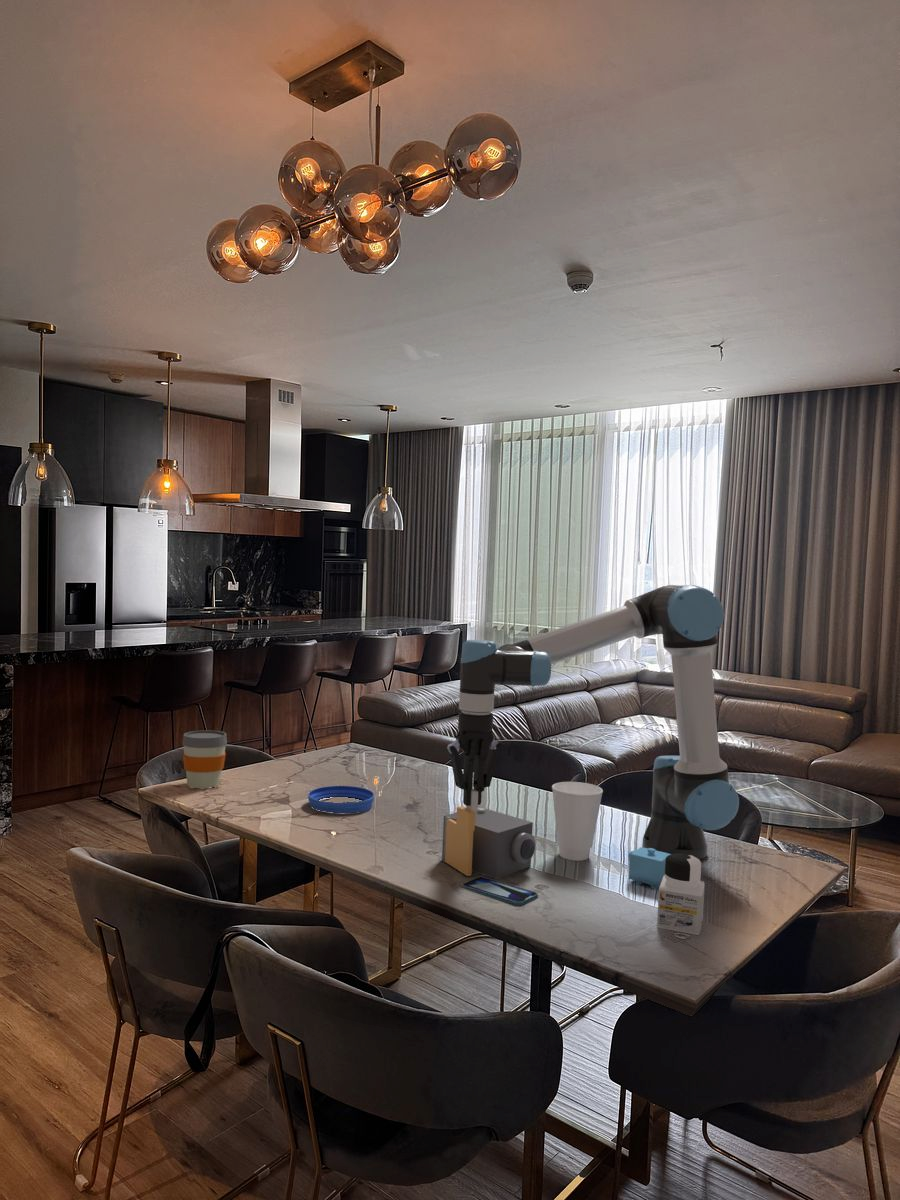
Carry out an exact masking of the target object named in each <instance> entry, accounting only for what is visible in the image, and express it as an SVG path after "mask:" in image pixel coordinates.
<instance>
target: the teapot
mask: <svg viewBox="0 0 900 1200" xmlns="http://www.w3.org/2000/svg"><path fill="white" fill-rule="evenodd" d="M668 855H671V854H668V853H664V852H660V851H656V850H655V849H653V848H648V849H647V848H643V847H642V846H641V847H639V848H637V849H636V850H632V851H629V853H628V856H627V857H628V861H629V862H628V863H629V865H628V880H631V881H635V882H634V884H635V885H637V886H642V885H643V884H646V885H648V886H649V885H650V888H651V889H652V890H659V887H660V884H661V882H662V879H663V876H664V875H665V859H666V857H667V856H668Z"/></svg>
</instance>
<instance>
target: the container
mask: <svg viewBox="0 0 900 1200" xmlns="http://www.w3.org/2000/svg"><path fill="white" fill-rule="evenodd" d="M701 873H702V862H701V860H699V859H698V858H696V857H694V856H692V855H689V854H683V853H674V854H671V855H668V856H667V857H666V859H665V875H664V876H663V879H662V882H661V884H660V887H658V897H657V898H658V900H657V919H656V926H657V928H658V929H663V930H668V931H674V932H679V933H684V934H688V935H689V934H690V935H695V936H699V935H700V934H701V930H702V925H703V924H702V923H703V918H704V916H703V915H704V901H705V899H704V898H705V881H703V880H701V879H702V878H701V876H702V874H701Z"/></svg>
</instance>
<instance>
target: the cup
mask: <svg viewBox="0 0 900 1200" xmlns="http://www.w3.org/2000/svg"><path fill="white" fill-rule="evenodd" d="M551 790H552V799H553V808H554V822H555V832H556V843H557V845H558V854H559V856H560V858H563V859H564V860H569V861H577V862H579V861H585V860H588V859H589V858H590V854H591V849H592V847H593V843H594V838H595V833H596V830H597V829H596V826H597V821H598V817H599V813H600V812H599V811H600V807H601V801H602V797H603V793H604V790H603V788H601V787H600V786H598V785H597V784H592V783H589V782H588V783H587V782H581V781H580V782H578V781H561V782H556V783H554V784H552V785H551Z"/></svg>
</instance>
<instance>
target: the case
mask: <svg viewBox="0 0 900 1200" xmlns="http://www.w3.org/2000/svg"><path fill="white" fill-rule="evenodd" d="M445 817H451V819H452V820H454V821H456V819H457V811H456V812H453V813H450V814H449V813H448V814H445V815H444V816H443V828H442V829H443V830H442V852H441V853H442V854H441V859H442V861H443V858H444V835H445ZM533 823H534V822H532V821H529V820H526V819H524V818H523V819H522V818H519V817H516V816H513V815H508V814H505V813H502V812H499V811H495V810H492V809H489V808H485V807H481V806H478V810H477V821H476V822H475V831H473V851H472V872H476V873H478V874H480V875H484V876H487V878H488V877H489V878H490V879H493V880H498V879H501V878H504V877H507V876H509V875H512V874H514V873H515V874H516V873H517V872H520V871H522V870H525V869H529V868H531V867H532V866H531V864H532V858H533V856H534V854H535V851H536V839H535V836H534V835H533V827H534V826H533Z"/></svg>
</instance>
